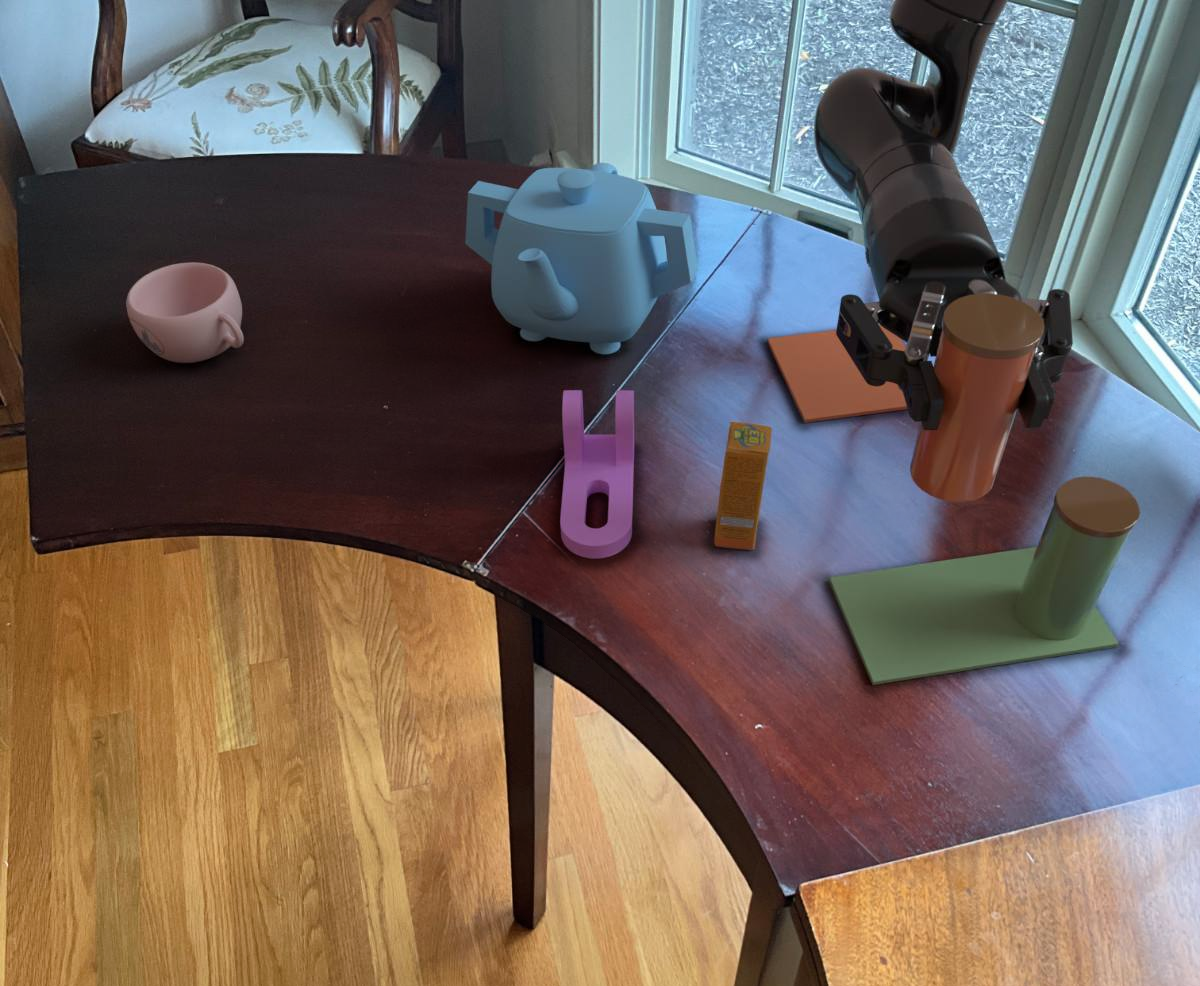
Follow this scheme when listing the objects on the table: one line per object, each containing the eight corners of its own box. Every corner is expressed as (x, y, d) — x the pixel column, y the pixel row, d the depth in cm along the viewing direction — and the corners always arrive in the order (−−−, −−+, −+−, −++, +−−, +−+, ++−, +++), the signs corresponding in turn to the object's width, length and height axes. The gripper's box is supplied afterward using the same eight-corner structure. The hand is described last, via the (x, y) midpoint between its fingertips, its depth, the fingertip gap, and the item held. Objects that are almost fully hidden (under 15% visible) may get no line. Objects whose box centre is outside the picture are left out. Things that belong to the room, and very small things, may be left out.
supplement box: (758, 552, 85) (769, 453, 78) (713, 548, 86) (720, 449, 78) (760, 522, 88) (772, 423, 80) (717, 518, 88) (724, 419, 80)
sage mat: (1055, 547, 85) (1056, 543, 85) (1117, 647, 78) (1118, 643, 78) (828, 580, 83) (829, 577, 83) (872, 685, 77) (873, 681, 76)
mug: (121, 354, 104) (99, 300, 100) (199, 302, 110) (181, 248, 105) (212, 395, 100) (192, 340, 96) (288, 339, 105) (273, 285, 101)
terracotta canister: (975, 440, 69) (1019, 287, 61) (1010, 496, 66) (1061, 343, 58) (895, 452, 69) (929, 299, 61) (926, 509, 65) (965, 355, 57)
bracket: (568, 447, 94) (564, 380, 89) (634, 447, 94) (633, 380, 89) (559, 558, 86) (553, 491, 80) (631, 558, 85) (630, 492, 80)
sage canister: (1068, 582, 82) (1116, 471, 74) (1101, 635, 79) (1155, 525, 70) (1001, 592, 82) (1042, 481, 73) (1031, 646, 78) (1077, 536, 70)
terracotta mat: (890, 326, 104) (891, 322, 104) (937, 405, 96) (938, 401, 96) (766, 341, 103) (767, 338, 103) (804, 423, 95) (804, 419, 95)
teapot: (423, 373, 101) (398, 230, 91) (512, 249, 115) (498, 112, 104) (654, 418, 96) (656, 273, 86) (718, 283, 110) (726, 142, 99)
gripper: (823, 198, 69) (864, 364, 58) (1055, 191, 69) (1142, 357, 58) (810, 301, 75) (846, 471, 64) (1024, 295, 74) (1098, 465, 63)
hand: (986, 416), depth 61 cm, fingers closed on terracotta canister, 5 cm apart
